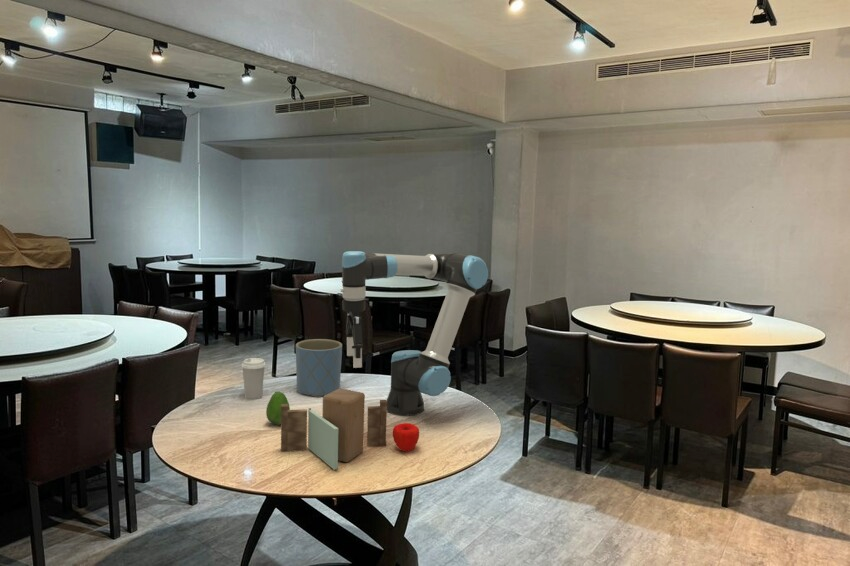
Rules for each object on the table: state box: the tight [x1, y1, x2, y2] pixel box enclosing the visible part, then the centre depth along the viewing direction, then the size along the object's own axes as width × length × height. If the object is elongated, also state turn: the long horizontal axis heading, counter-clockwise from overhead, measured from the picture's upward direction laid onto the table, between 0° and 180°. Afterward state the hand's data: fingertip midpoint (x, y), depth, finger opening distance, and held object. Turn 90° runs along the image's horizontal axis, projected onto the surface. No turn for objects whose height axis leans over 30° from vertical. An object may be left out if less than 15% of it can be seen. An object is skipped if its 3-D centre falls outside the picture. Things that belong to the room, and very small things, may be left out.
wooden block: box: [321, 387, 366, 463], centre depth 182 cm, size 10×10×20 cm
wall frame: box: [280, 399, 388, 453], centre depth 187 cm, size 34×2×15 cm, turn 103°
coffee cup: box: [240, 357, 267, 400], centre depth 231 cm, size 10×10×15 cm
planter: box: [295, 338, 343, 398], centre depth 241 cm, size 19×19×20 cm
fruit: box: [265, 391, 291, 426], centre depth 205 cm, size 8×8×12 cm
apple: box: [392, 422, 420, 452], centre depth 188 cm, size 9×9×8 cm
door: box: [307, 407, 339, 471], centre depth 178 cm, size 19×1×13 cm, turn 37°
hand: (354, 361), depth 192 cm, fingers open, 13 cm apart
